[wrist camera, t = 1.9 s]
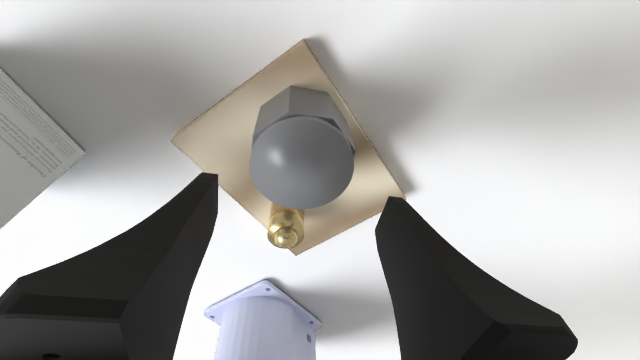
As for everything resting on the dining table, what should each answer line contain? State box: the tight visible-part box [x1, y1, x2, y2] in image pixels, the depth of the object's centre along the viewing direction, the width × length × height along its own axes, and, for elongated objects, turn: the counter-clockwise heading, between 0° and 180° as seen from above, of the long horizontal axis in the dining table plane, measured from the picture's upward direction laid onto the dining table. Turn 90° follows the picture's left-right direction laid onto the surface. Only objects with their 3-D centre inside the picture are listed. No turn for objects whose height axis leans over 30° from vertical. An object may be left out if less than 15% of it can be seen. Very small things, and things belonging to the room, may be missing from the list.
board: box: [171, 39, 406, 256], centre depth 21 cm, size 13×10×1 cm
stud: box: [268, 202, 304, 248], centre depth 21 cm, size 2×2×4 cm
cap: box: [249, 85, 356, 209], centre depth 17 cm, size 5×5×4 cm
